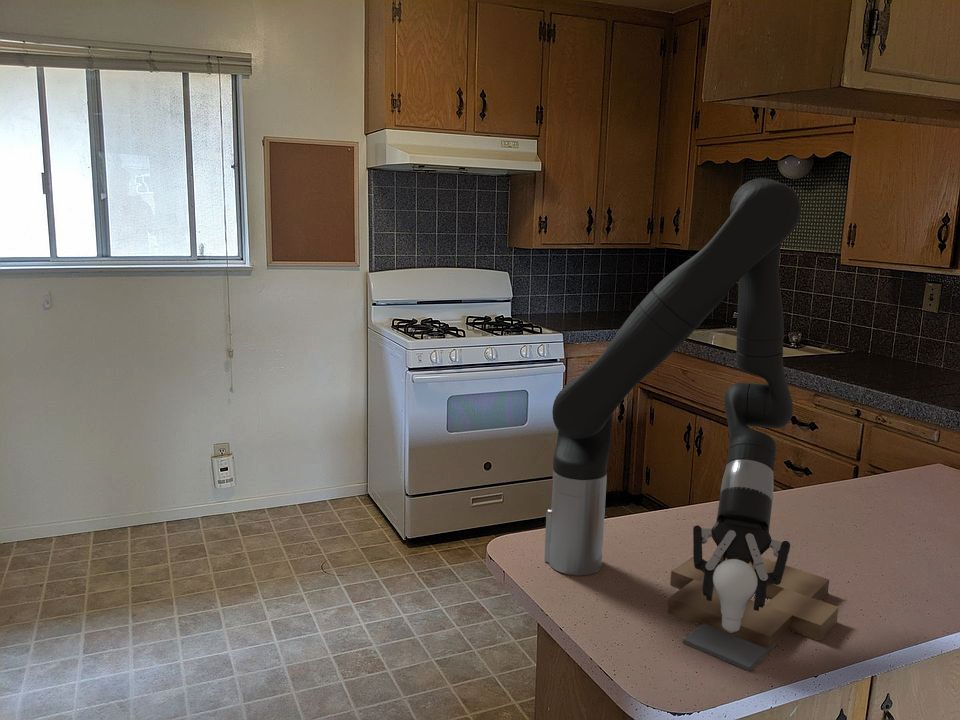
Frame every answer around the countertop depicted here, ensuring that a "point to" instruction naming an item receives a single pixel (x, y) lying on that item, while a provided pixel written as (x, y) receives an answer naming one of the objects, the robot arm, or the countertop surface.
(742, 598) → the lightbulb
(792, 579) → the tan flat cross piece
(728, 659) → the slate mat
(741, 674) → the countertop surface
